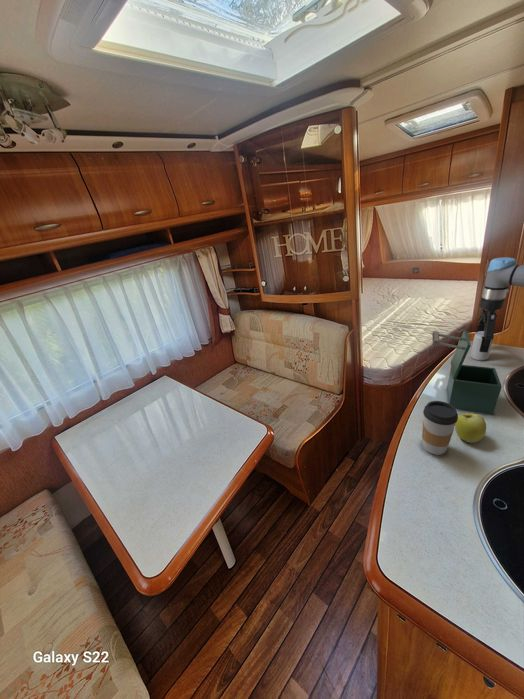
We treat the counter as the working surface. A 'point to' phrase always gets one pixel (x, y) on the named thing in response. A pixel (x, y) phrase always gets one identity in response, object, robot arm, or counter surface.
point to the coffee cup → (438, 426)
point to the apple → (470, 427)
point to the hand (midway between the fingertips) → (480, 344)
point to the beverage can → (476, 347)
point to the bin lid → (460, 350)
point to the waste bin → (474, 389)
